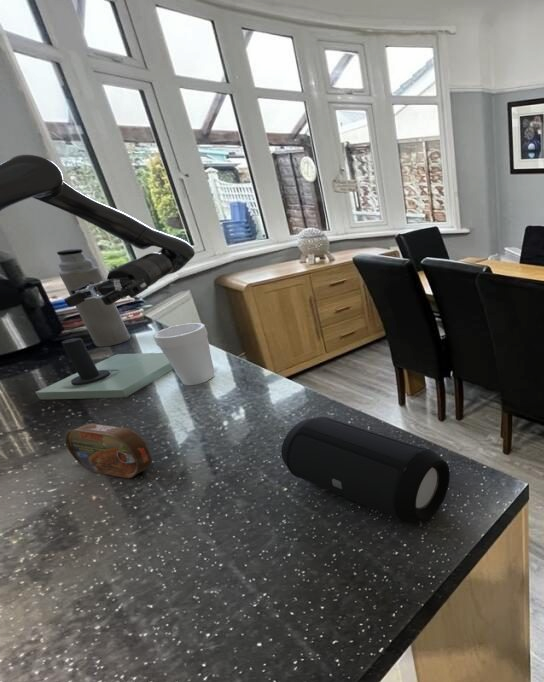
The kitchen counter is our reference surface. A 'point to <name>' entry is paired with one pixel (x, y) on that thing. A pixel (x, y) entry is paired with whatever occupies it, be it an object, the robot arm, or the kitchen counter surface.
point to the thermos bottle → (92, 300)
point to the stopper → (83, 363)
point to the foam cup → (187, 351)
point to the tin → (109, 450)
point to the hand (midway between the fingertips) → (86, 302)
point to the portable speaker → (368, 467)
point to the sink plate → (113, 378)
